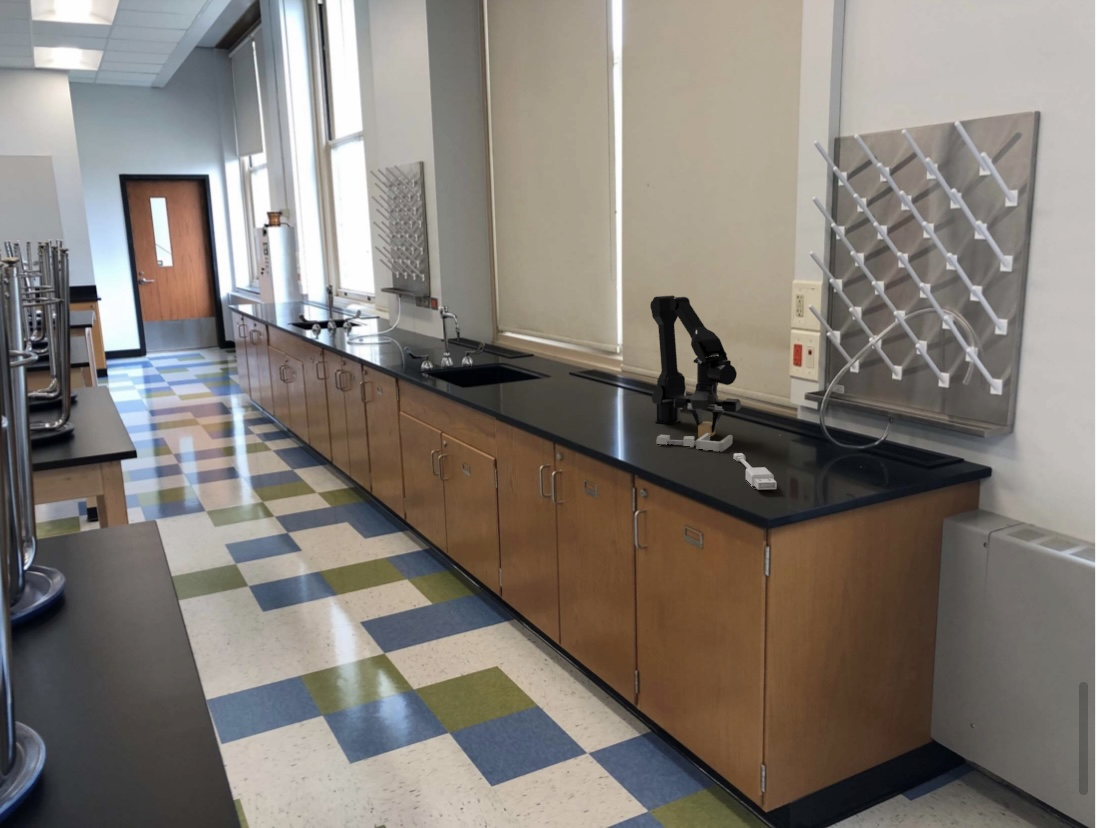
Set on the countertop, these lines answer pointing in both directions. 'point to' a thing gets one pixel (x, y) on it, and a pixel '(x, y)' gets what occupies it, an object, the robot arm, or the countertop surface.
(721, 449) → the end holder
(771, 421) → the countertop surface
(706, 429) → the tan rectangular block
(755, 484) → the charging cable
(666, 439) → the clip
